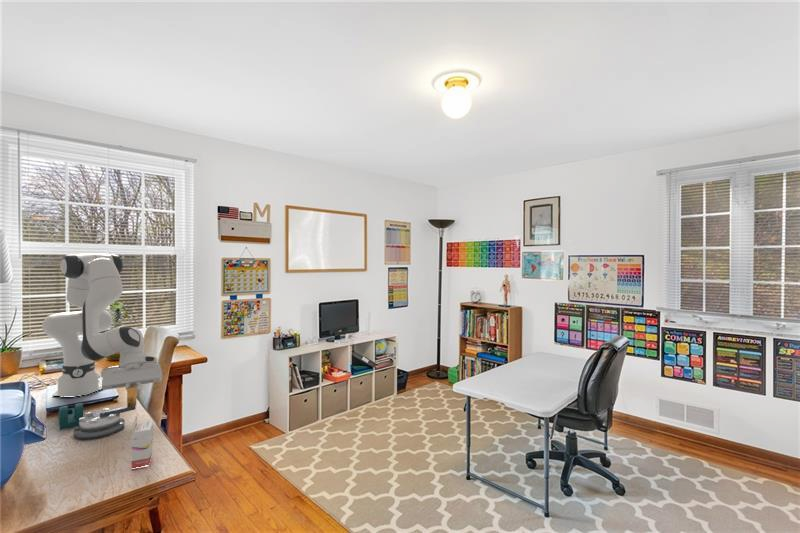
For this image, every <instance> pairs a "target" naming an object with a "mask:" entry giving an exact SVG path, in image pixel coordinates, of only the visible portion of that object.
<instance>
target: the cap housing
mask: <svg viewBox="0 0 800 533" xmlns="http://www.w3.org/2000/svg"><path fill="white" fill-rule="evenodd" d="M125 422H126V421H125V419H124V418H122V417H120V422H119V423H118V424H117V425H115V426H113V427H111V428H108V429H104V430H100V431H94V432H83V431H80V430H79V426H77V427H74V429H73V438H74V439H75V440H78V441H91V440H98V439H102V438H107V437H110V436H113V435H116V434H118V433H120V432H121V431H123V430H124V428H125V424H126V423H125Z"/></svg>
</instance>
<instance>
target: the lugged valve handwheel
mask: <svg viewBox="0 0 800 533" xmlns="http://www.w3.org/2000/svg"><path fill="white" fill-rule="evenodd" d="M126 391H127V393H126V396H127V398H126V400H127V401H126V405H125V406H120V407H117V408H111V409H110V407H106V408H103V409H102V411H97V412H93V411H87V412H85V413H84V415H83V417H82V418H79V430H80V431H83V432H94V431H100V430H104V429H108V428H111V427H113V426H115V425H117V424H118V423H119V422H120V418H121V413H126V412H130V411H135V410H136V409H137V408H136V406H137V395H138V394H137V387H136V385H134V386H130V387H128V388H127V390H126Z"/></svg>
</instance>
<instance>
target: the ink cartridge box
mask: <svg viewBox="0 0 800 533" xmlns="http://www.w3.org/2000/svg"><path fill="white" fill-rule="evenodd" d="M138 416H139V413H136V415H135V417H134V419H133V421H132V429H131V468H136V467H141V466H145V465H149V463H150V464H151V461H152V458H151V456H152V457H153V438H154V437H153V434H154V420H152V419H151V420H144V421H138ZM150 460H151V461H150ZM149 466H150V465H149Z"/></svg>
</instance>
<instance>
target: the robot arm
mask: <svg viewBox="0 0 800 533" xmlns="http://www.w3.org/2000/svg"><path fill="white" fill-rule="evenodd" d="M123 265H124V264H123V260H122V258H121V257H120V256H119V254H113V253H95V252H93V253H79V254H77V253H76V254H75V253H72V254H66V255H65V256H64V257H62V258H61V260H60V264H59V269H60V271H61V273H62V275H63V276H64V277H65V278H68V281H67V287H66V288H67V289H66V298H65V299H66V301H67V303H69V304H70V305H72V306H74V307H77V308H80V309H81V310H79V311H67V312H64V311H63V312H59V313H58V312H57V313H53V314H50V315H47V316H46V317H45V318H44V320H43V321H42V324H41V327H42V330H43V332H44V334H46V335H47V336H48V337H50V338H52V339H53V340H56V342H58V343H59V345H60V346H61V349H62V357H63V365H62V366H61V367H62V368H61V372H62V374H61V376H59V378H57V390H56V391H54V393H53V394H52V396H63V397H64V396H79V395H85V394H89V393H92V392H95V391H97V390H100V389H104V391H107V390H113V389H120V388H125V390H126V391H127V388H128V387H131V386H136V387H137V395H138V394H139V393H138V392H139V389H140V388H141V385H146V384H155V383H159V382H161V381H162V379H163V372H162V367H161V364H160V363H159V362H158V357H157V356H150V355H145V353H144V351H145V340H144V337H143V333H142V331H141V330H140V329H138V328H135V327H130V326H127V325H121V326H117V327H114V328H112V329H111V327H112V325H113V320H114V319H113V316H112V314H111V313H110V312H109V311H108V310H106V309H107V308H108V307H109V306H111V305H112V304H114V303H115V302H116V301H117V300H118V299H120V297H121V296H122V294H123V290H124V289H123V282H122V278H121V275H120V274H121V273H122V271H123V269H124V268H123V267H124V266H123ZM80 335H82V340H81V339H80V338H79V336H80ZM116 353H119V354H120V356H119V365H115V366H107V367H106V368H103V369H101V372H100V375H99V373H98V371H96V370H95V369H96V362H97V361H101V360H103V359H105V358H107V357H109V356H111V355H115V354H116ZM100 376H101V379H102V380H101V383H100V379H99V378H100ZM97 392H98V391H97ZM95 393H96V392H95ZM92 394H93V393H92ZM89 395H90V394H89ZM52 396H51V397H52ZM85 396H86V395H85Z"/></svg>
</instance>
